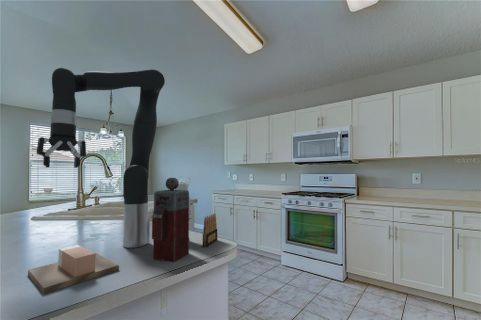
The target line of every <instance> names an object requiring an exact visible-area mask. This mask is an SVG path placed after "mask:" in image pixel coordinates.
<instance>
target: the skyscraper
mask: <svg viewBox="0 0 481 320" xmlns="http://www.w3.org/2000/svg"><path fill="white" fill-rule="evenodd" d="M183 180H188V182H186V181H183ZM178 182H179V185H178V187H177V188H176V189H174V190H188V191H189V185H190V182H191V178H190V177H183V178H180V179H179V180H178ZM190 198H191V197H190V196H189V219H190V216H191V199H190ZM190 239H191V238H189V243H191V240H190Z"/></svg>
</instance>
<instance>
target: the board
mask: <svg viewBox="0 0 481 320" xmlns="http://www.w3.org/2000/svg"><path fill="white" fill-rule="evenodd" d="M95 253H96V256H95V271H94V272H90V273H87V274H84V275H81V276H77V277H74V276H72V275H71V274H70V273H68V272H67V271H65V270H64V269H63V268H61V267H60V266H58V262H54V263H49V264H46V265H42V266H39V267H38V266H37V267H34V268H30V269H28V270H27V276H28V277H29V278H30V279H31V280H32V282H33V283H34V284H35V286H37V288H38V289H39V290H40V292H41V293H42V294H43V295H45V294H48V293H51V292H55V291H57V290H62V289H64V288H68V287H70V286H74V285H77V284H80V283H83V282H87V281H88V280H89V281H90V280H92V279H96V278H98V277H101V276H104V275H108V274H110V273H114V272H116V271H120V264H119V263H116V262H114V261H112V260H110V259H109V258H106V257H104V256H103V255H101V254H99V253H97V252H95Z"/></svg>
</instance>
